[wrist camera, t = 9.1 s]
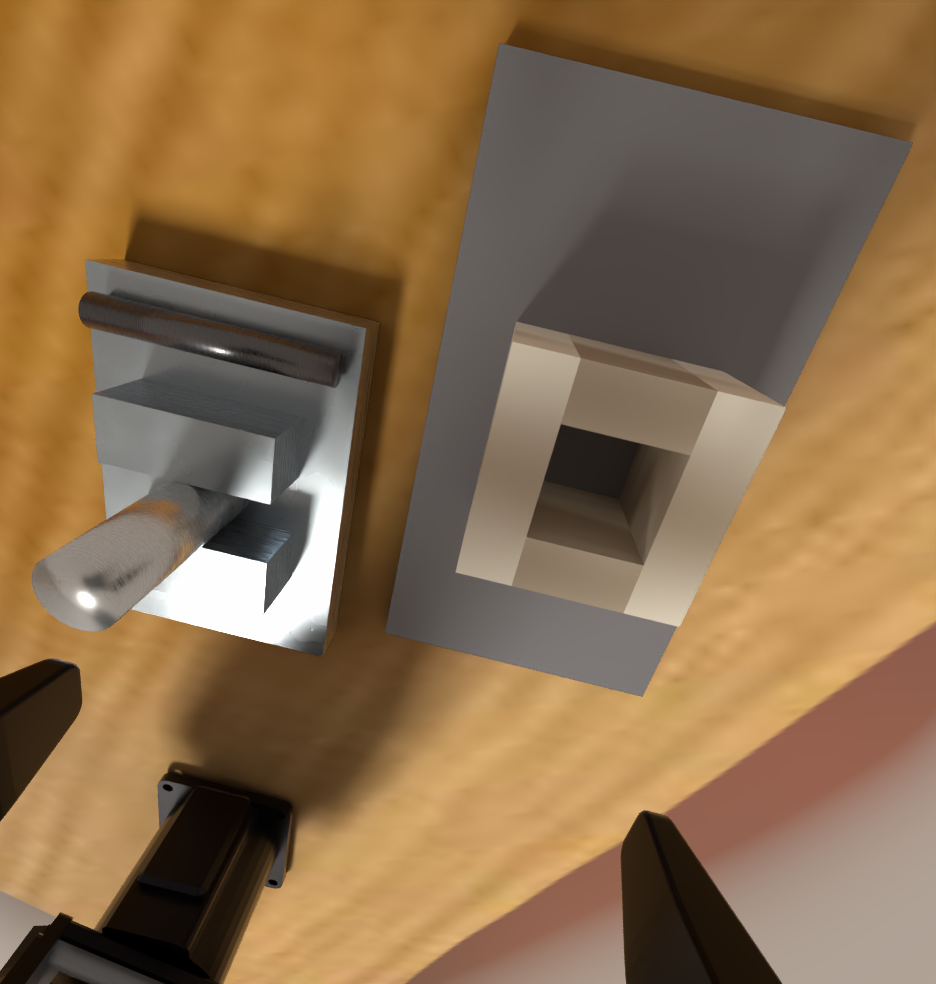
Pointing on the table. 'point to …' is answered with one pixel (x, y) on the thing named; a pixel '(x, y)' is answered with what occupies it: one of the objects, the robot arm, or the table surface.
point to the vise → (217, 458)
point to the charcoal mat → (619, 307)
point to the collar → (647, 489)
